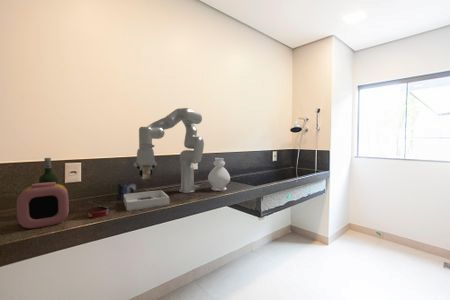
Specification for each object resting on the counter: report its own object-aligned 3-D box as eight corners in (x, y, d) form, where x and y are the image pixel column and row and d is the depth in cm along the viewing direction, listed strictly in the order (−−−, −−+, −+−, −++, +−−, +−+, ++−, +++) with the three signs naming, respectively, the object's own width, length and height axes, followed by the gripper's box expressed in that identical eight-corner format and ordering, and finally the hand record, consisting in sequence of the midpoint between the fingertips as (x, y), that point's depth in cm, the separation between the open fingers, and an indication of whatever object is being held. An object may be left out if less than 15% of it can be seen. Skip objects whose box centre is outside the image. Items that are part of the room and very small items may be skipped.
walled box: (161, 197, 154) (161, 190, 154) (169, 205, 137) (169, 197, 137) (123, 201, 143) (123, 194, 142) (127, 211, 125) (126, 202, 125)
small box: (120, 200, 146) (119, 184, 146) (117, 198, 151) (117, 183, 151) (136, 197, 153) (136, 182, 152) (133, 195, 158) (133, 181, 157)
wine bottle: (56, 209, 127) (54, 157, 125) (60, 212, 122) (58, 158, 120) (38, 213, 121) (36, 158, 119) (42, 216, 116) (40, 159, 114)
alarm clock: (17, 232, 97) (15, 188, 96) (21, 224, 106) (19, 183, 105) (69, 222, 108) (67, 183, 107) (68, 216, 117) (67, 179, 116)
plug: (149, 177, 142) (148, 166, 142) (150, 178, 138) (150, 167, 138) (141, 177, 140) (141, 166, 139) (142, 179, 136) (142, 167, 135)
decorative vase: (220, 192, 168) (221, 159, 167) (203, 189, 179) (203, 158, 178) (234, 188, 183) (234, 158, 181) (217, 185, 193) (217, 156, 192)
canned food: (90, 222, 121) (89, 204, 124) (110, 218, 124) (109, 200, 128) (84, 219, 111) (83, 199, 114) (106, 215, 114) (105, 196, 118)
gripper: (158, 146, 145) (158, 174, 146) (130, 146, 137) (130, 176, 138) (160, 147, 139) (161, 176, 140) (131, 147, 130) (132, 178, 131)
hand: (145, 175), depth 139 cm, fingers closed on plug, 4 cm apart
